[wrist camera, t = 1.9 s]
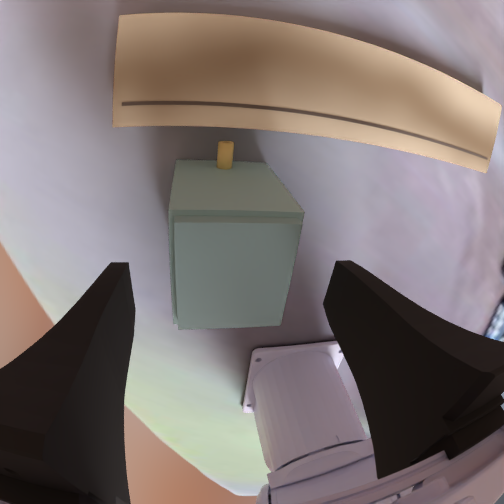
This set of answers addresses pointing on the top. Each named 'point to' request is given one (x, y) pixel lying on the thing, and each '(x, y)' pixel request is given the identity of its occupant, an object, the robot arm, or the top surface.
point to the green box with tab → (230, 243)
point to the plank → (294, 86)
